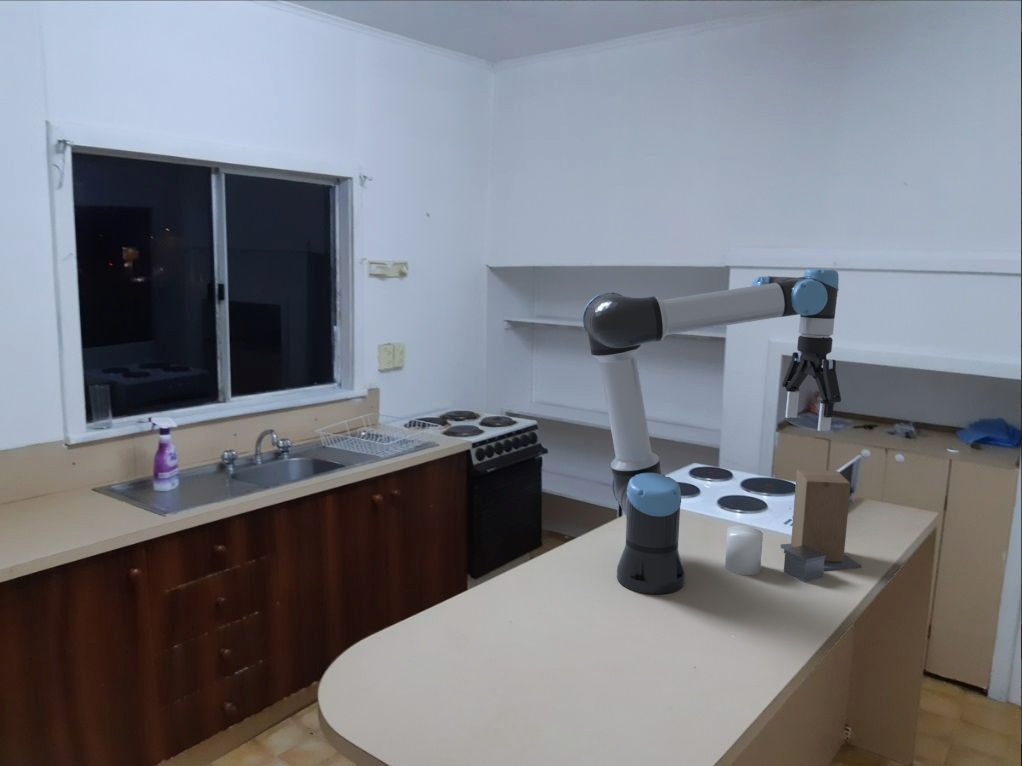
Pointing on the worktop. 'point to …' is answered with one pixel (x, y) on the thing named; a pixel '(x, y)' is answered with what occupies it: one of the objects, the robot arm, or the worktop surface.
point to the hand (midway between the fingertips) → (806, 423)
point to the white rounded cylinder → (743, 550)
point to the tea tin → (804, 563)
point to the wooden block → (821, 512)
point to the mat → (834, 565)
